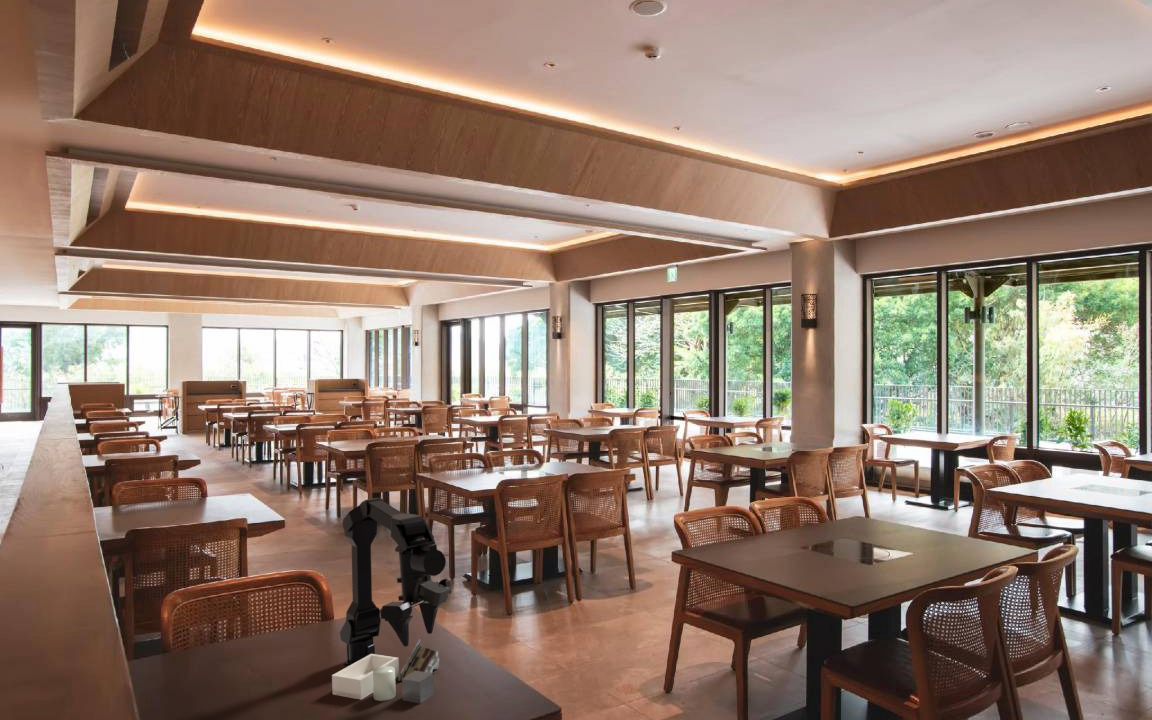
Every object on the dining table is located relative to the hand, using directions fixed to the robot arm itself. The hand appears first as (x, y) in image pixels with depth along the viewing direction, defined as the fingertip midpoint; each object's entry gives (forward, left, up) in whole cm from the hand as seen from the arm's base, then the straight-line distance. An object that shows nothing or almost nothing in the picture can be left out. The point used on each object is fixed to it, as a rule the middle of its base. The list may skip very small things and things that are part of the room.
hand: (418, 639), depth 173 cm
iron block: (0, -1, -13) cm, 13 cm away
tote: (-16, +1, -13) cm, 21 cm away
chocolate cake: (-8, +11, -14) cm, 19 cm away
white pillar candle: (-8, -3, -13) cm, 16 cm away
